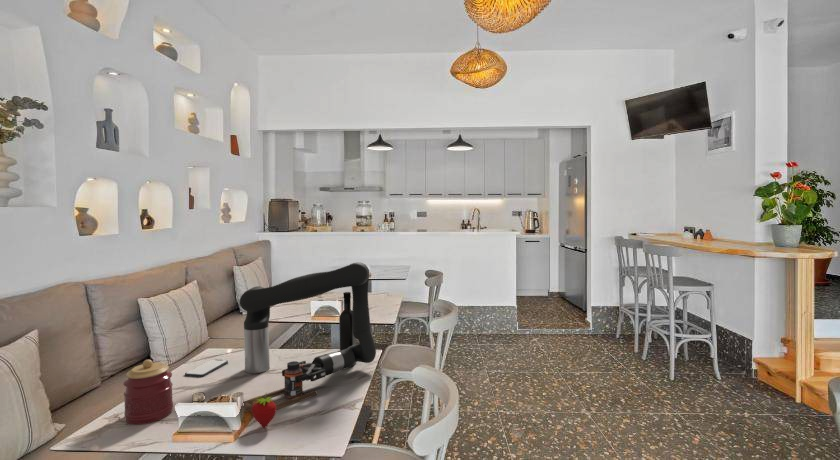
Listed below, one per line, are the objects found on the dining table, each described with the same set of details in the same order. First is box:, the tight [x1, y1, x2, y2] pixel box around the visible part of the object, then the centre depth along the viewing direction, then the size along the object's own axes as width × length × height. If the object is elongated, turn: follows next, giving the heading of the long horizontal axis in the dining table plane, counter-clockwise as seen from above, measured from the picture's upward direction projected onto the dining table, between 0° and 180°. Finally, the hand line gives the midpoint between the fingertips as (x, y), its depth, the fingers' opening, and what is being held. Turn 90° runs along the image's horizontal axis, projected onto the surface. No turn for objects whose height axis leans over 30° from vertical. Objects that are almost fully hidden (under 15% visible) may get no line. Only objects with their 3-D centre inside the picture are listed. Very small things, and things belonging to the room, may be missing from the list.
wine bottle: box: [338, 291, 357, 367], centre depth 175 cm, size 6×6×30 cm
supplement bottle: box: [283, 360, 304, 399], centre depth 146 cm, size 6×6×11 cm
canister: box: [122, 359, 174, 425], centre depth 133 cm, size 13×13×18 cm
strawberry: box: [250, 394, 278, 428], centre depth 125 cm, size 6×8×10 cm
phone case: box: [184, 358, 229, 378], centre depth 172 cm, size 9×2×16 cm
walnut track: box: [242, 387, 317, 412], centre depth 143 cm, size 11×21×1 cm, turn 137°
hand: (288, 376), depth 145 cm, fingers open, 8 cm apart
